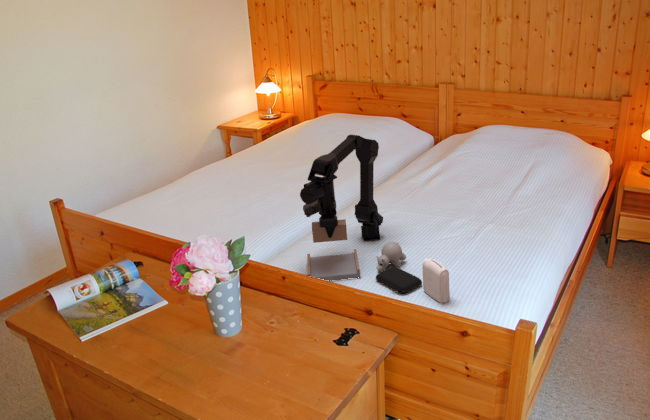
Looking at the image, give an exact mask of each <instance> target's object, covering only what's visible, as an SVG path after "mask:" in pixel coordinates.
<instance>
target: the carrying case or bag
mask: <svg viewBox="0 0 650 420" xmlns="http://www.w3.org/2000/svg"><path fill="white" fill-rule="evenodd" d="M375 280H376V282H378V283H380V284H382V285H383V286H385V287H387V288H389V289H390V290H391V292H394V293H397V294H401V295H406V294H408V293H410V292H412V291H414V290H416V289H417V288H420V286H421V285H423V280H422V279H420V277H417V276H416V275H413V274H412V273H409V272H408V271H406V270H403V269H401V268H399V267H395V266H391V267H388V268H385V270H384V271H382V272H381V271H379V273H377V274H376V276H375Z"/></svg>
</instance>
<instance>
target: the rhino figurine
mask: <svg viewBox="0 0 650 420" xmlns="http://www.w3.org/2000/svg"><path fill="white" fill-rule="evenodd" d="M375 258H377V261H376V262H377V265H376V269H377V270H378V271H379V272H381V271H384V270H386V269H387V267H388V266H389V265H390V264H389V263H391V264H393V267H395V266H398V267H400V266H401V265H402V263H401V262H402V261H403V262H404V261H405V260H406V259H407V255H406V254H405V253H404V252H403V250H402V247H401V245H400V244H399V243H398V242H395V241H388V242H386V243H385V244H384V245H382V247H381V255H380V256H378V255H376V256H375Z"/></svg>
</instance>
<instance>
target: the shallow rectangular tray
mask: <svg viewBox="0 0 650 420" xmlns="http://www.w3.org/2000/svg"><path fill="white" fill-rule="evenodd" d="M357 251H358V250H357V248H356V249H355V248H354V249H353V252H350V253H349V252H348V253H341V254H331V255H321V256H311V253H307V255H306V259H307V262H306V263H307V264H306V265H307V266H306V267H307V277H308V276H311V277H315V278H320V279H324V280H329V281H328V282H333V281H332V280H337V281H342V280H341V279H347V280H349V279H348V278H357V279H361V267H360V263H359V257H358V252H357ZM358 277H359V278H358ZM330 280H331V281H330Z"/></svg>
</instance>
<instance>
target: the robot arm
mask: <svg viewBox="0 0 650 420" xmlns="http://www.w3.org/2000/svg"><path fill="white" fill-rule="evenodd" d="M379 145H380V144H379V142H378V141H377V140H375V139H371V138H366V137H364V136H361V135H357V134H348V135H347V136H346V138H345V139H344V140H343V141H341V142H340V144H338V145H337V146H336V147H335V148H333V150H331V151H330V152H329V153H326V154H323V155H320V156H318V157H317V158H315V159H314V160H313V162H312V165H311V168H310V171H309V173H308V177H307V181H308V182H306V183H304V184H303V188H302V189H301V190H300V193H299V197H300V200H301V201H302V202H303V203H304V205H303V206H302V211H303V212H304V215H305V216H306V218H310V217H312V216H313V215H315V214H318V215H320V216H319V218H318V220H319V221H318V222H319V225H320V227H321V228H323V227H325V229H326V232H327V235H328V237H329V238H332V235H333V233H334V230H335V227H336V226H338V220H339V219H338V216H337V214H338V213H337V212H338V211H337V201H336V197H335V183H334V181H335V180H336V179H337V178H338V175H336V173H337V171H338V169H339V165H340V164H341V163H342V162H343V161H344V160H345V159H346V158H347V157H348V156H349V155H350V154H352V153H353V152H354V151H355V156H356V158H357V159H358V162H359V167H360V168H359V179H360V180H359V201H358V202H357V204H356V203H355V206H354V216H355V218H356V221H357V223H358V224H362V225H361V226H360V231H361V233H360V234H361V238H363V241H364V242H367V241H379V240H380V241H381V239H382V238H381V235H380V233H381V232H380V226H382V224H383V221H384V217H383V216H382V215H381V214H380V213H379V210H378V205H377V203H376V202H375V200H374V162H375V161H376V159H377V157H378V156H379V148H380V147H379ZM316 175H317V176H316Z"/></svg>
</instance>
